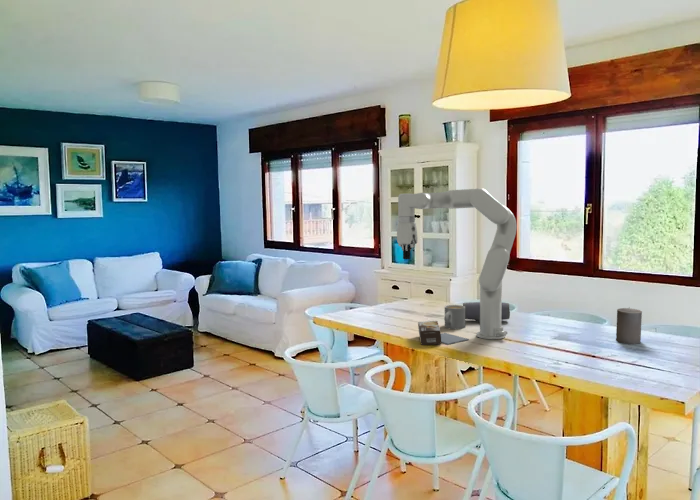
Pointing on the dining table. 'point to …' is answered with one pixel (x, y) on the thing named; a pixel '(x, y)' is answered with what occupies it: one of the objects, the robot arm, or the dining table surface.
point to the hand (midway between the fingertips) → (406, 258)
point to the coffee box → (429, 332)
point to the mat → (451, 338)
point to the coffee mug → (454, 316)
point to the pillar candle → (628, 326)
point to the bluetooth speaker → (474, 311)
